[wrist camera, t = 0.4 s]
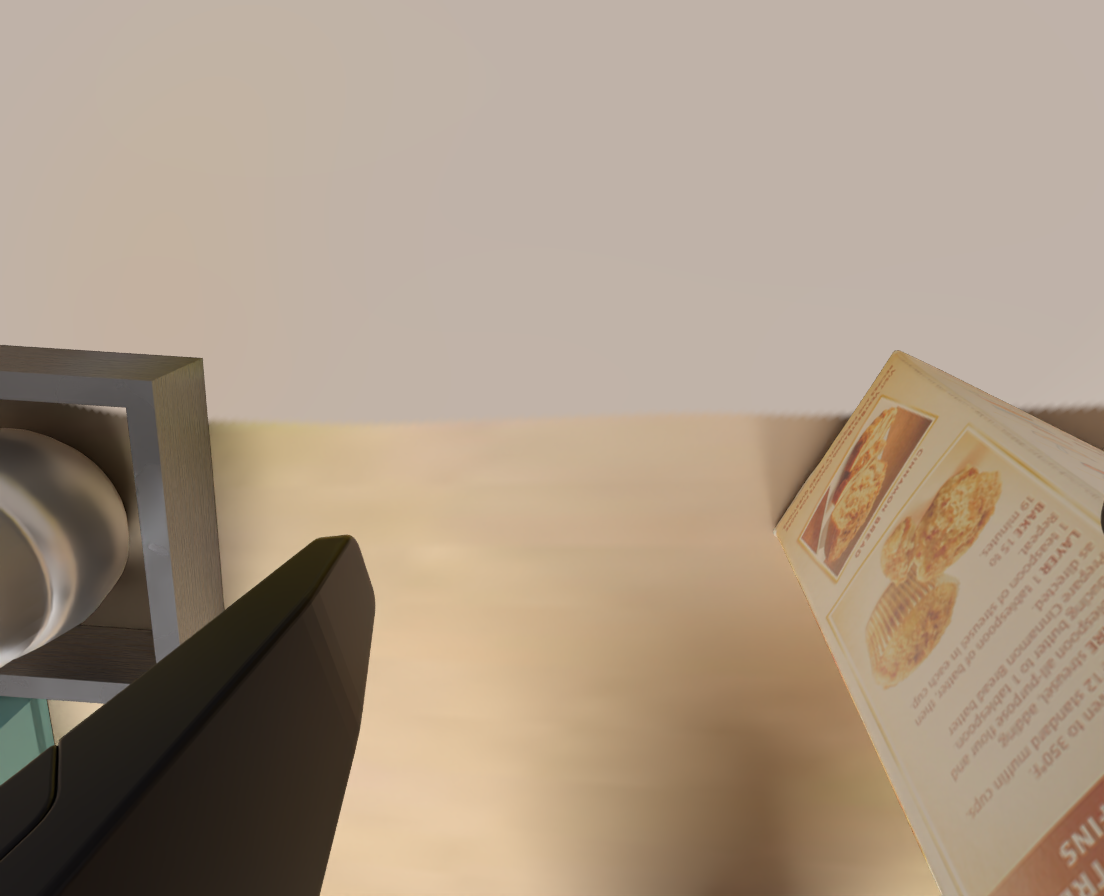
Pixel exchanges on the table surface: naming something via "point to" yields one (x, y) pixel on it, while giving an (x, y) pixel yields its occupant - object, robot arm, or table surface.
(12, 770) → the tray
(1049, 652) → the coffeecake box
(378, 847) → the table surface
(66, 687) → the open frame
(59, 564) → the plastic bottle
